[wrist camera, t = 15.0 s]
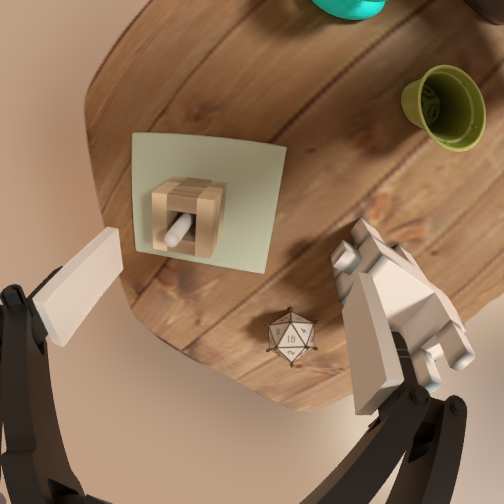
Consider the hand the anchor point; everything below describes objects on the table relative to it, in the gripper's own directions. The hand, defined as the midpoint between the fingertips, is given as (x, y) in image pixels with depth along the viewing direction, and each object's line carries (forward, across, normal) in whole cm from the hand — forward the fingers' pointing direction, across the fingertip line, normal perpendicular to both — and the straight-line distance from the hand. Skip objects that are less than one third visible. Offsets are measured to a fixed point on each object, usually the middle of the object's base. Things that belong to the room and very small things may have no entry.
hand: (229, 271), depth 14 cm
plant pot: (+23, +18, +13) cm, 32 cm away
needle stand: (+22, -8, -6) cm, 24 cm away
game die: (+22, +8, -24) cm, 34 cm away
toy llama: (+23, +18, -10) cm, 31 cm away
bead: (+21, -8, -6) cm, 23 cm away
